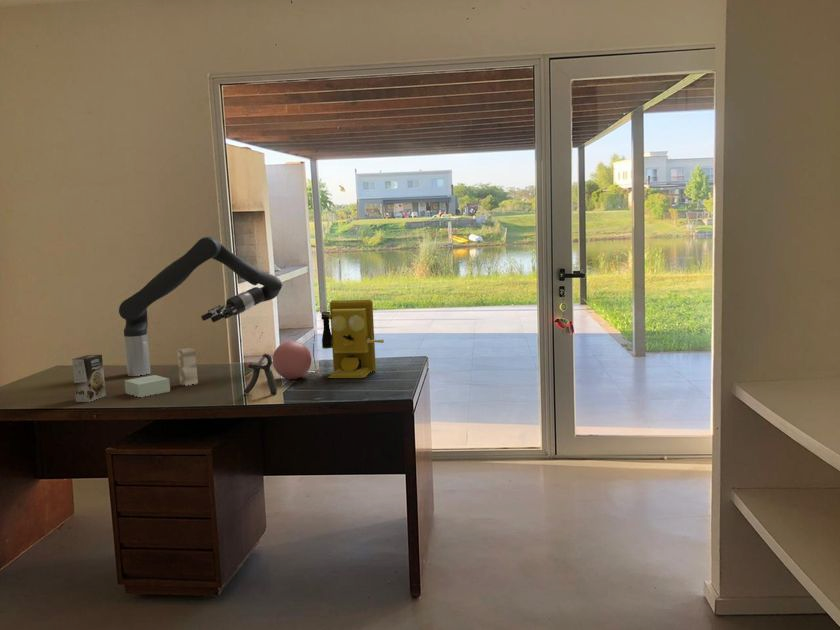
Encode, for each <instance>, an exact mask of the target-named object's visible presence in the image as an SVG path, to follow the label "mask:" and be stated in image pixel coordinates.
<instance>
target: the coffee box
mask: <svg viewBox="0 0 840 630" xmlns="http://www.w3.org/2000/svg"><path fill="white" fill-rule="evenodd" d="M71 363H72V371H73V383H74V393H75V402H77V403H91V401H92V402H94V400H95V401H97V400H100V399H102V397H103V398H105V397H107V396H106V395H107V394H106V383H105V376H104V364H103V354H87V355H84V356H79V357H76V358H72V361H71ZM104 396H105V397H104ZM99 398H100V399H99ZM96 399H97V400H96Z"/></svg>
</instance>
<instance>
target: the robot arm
mask: <svg viewBox="0 0 840 630" xmlns="http://www.w3.org/2000/svg"><path fill="white" fill-rule="evenodd" d="M210 259H213V260H215V261H217V262H219V263H220V264H223V265H225V266H226V267H227V268H228V269H230V270H231V271H232V272H234V274H236V275H237V276H238V277H239V278H241V279H242V280H244V281H246V282H247V283H249V284H250V285H252V286H255V287H252V288H250V289H248V290H246V291H243V292H241V293H238V294H236V295H234V296H232V297H230V298H229V297H228V298H227V299H226V301H225V305H224V304H223V305H221V304H220V305H217V306H215V307H213V308H211V309H209V310H207V312H206V313H205V314H202V315H201V316H200V317H201V320H202V321H207V320H209V319H211V320H210V321H211V322H212V323H216V322H217V321H220V320H224V319H228V318H230V317H232V316H238V315H240V314H242V313H244V312H246V311H247V310H250V309H251V308H253V307H254V306H257V305H259V304H261V303H264V302H268V301H271V300H273V299H275V298H276V297H277V296H278V295H279V293H280V292H281V289H282V287H283V283H282V281H281V279H280V278H278V277H277V276H275V275H274V274H270V273H268V272H265V271H263V270H260V269H259V268H258V267H256V266H254V265H252V264H250V263H249V262H248V261H246V260H244V259H243V258H241V257H239V256H237V255H236V254H235V253H234V252H232V250H230V249H228V248H227V247H226V246H225V245H224V244H222V243H221V241H219V240H218V239H217V238H216V237H213V236H204V237H201V238H200V239H199V240H197V242H196V243H194V245H192V246H191V248H190V249H189V250H187V252H185V253H184V255H182V256H180V257H179V258H177V259H176V260H174V261H173V262H171V263H170V264H169V265H168V266H166V267H165V268H163V269H162V270H161V271H160V272H159V273H157V274H156V275H155V276H154V277H153V278H152V279H151V280H149V281H148V282H147V283H146V284H145V285H144V286H143V287H142V288H141V289H140V290H138V291H137V292H136V293H134V294H132V295H131V296H129V297H128V298H126V299H125V300H122V302H121V303H120V304H119V307H118V308H119V309H118V314H119V315H120V317H121V318H122V319H123V320H125V326H124V329H123V337H124V350H125V359H126V371H127V376H128V377H140V375H142V376H146V374H147V375H150V374H151V362H150V361H151V360H150V351H149V340H148V326H149V324H148V309H147V308H149V307H150V306H151V305H152V304H154V303H155V302H156V301H158V300H161V298H164V297H165V296H166V295H168V294H170V293H171V292H173V291H174V290H175V289H177V288H178V287H179V286H180V285H182V284H183V283H184V282H185V281H186V280H187V279H188V278H189V277H190V275H191V274H192V273H193V271H195V270H196V269H197V268H198V267H199V266H201V265H203V264H204V263H206V262H207V261H208V260H210ZM257 285H260V286H262V287H258V286H257Z"/></svg>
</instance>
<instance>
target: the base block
mask: <svg viewBox="0 0 840 630" xmlns="http://www.w3.org/2000/svg"><path fill="white" fill-rule="evenodd" d="M124 390H125V391H124V392H125V394H126V393H127V394H126V395H129V394H130V395H129V396H132V395H134V396H133V397H136V396H137V397H136V398H139V397H141V398H145V396H146V397H149V396H150V395H151V396H156V395H159V394H166V393H169V392H171V383H170V378H169V377H164V376H160V375H157V374H153V375H152V374H151V375H147V376H146V375H145V376H142V377H137V378H132V379H127V380H124ZM155 394H156V395H155Z"/></svg>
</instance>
